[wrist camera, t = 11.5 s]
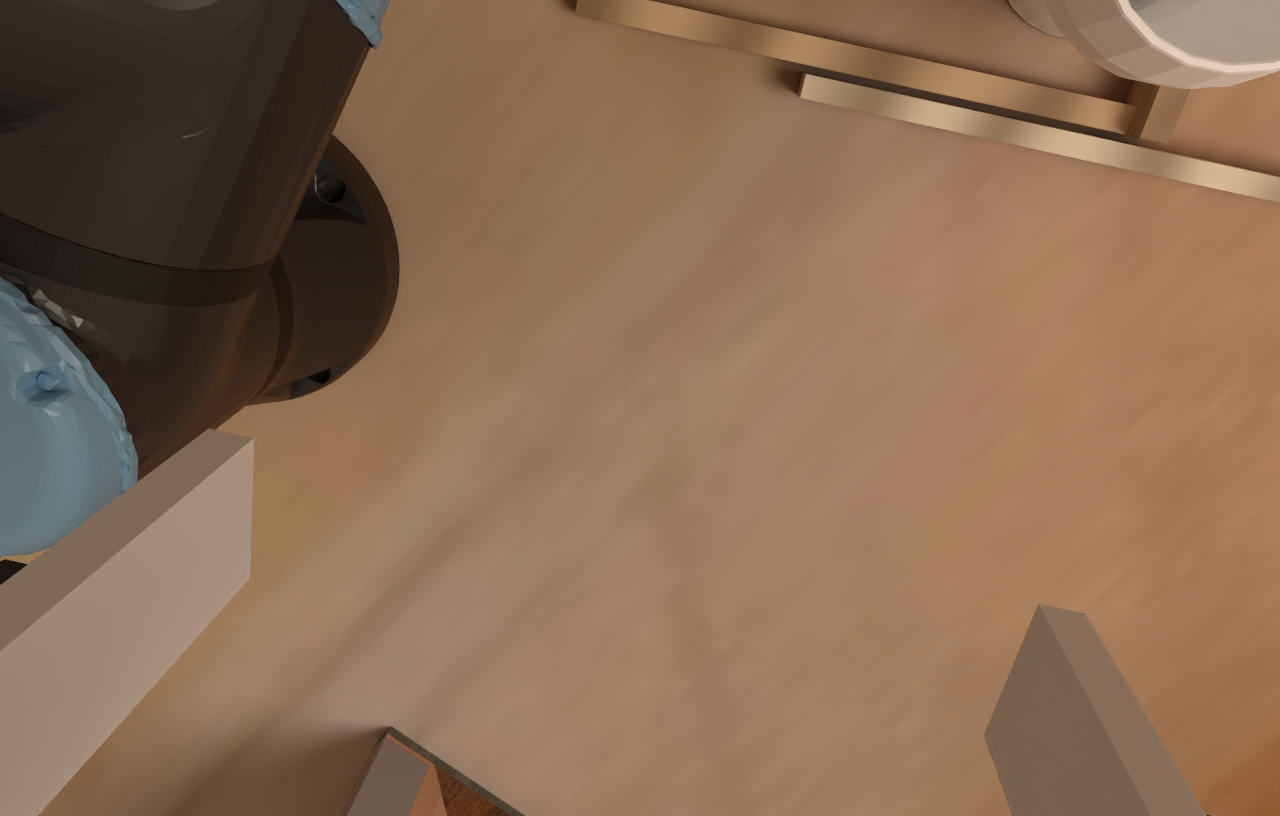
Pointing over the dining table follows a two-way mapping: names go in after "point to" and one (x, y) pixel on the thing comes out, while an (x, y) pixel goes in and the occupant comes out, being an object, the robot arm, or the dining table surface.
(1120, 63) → the cup
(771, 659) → the dining table surface
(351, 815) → the cabinet
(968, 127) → the lane rails
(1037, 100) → the rail with green post
